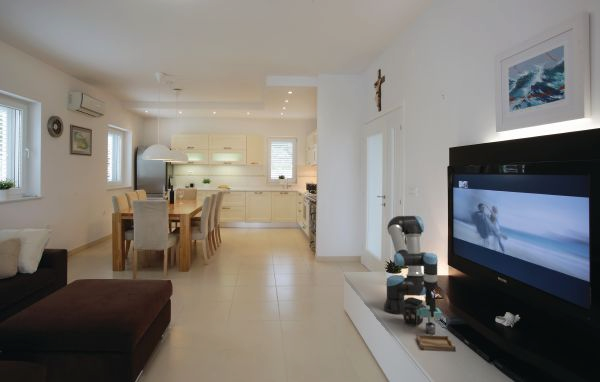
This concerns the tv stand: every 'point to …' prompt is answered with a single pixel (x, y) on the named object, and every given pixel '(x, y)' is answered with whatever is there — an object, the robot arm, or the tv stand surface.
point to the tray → (435, 343)
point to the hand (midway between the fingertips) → (430, 319)
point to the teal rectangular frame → (425, 312)
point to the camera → (412, 311)
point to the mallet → (430, 328)
